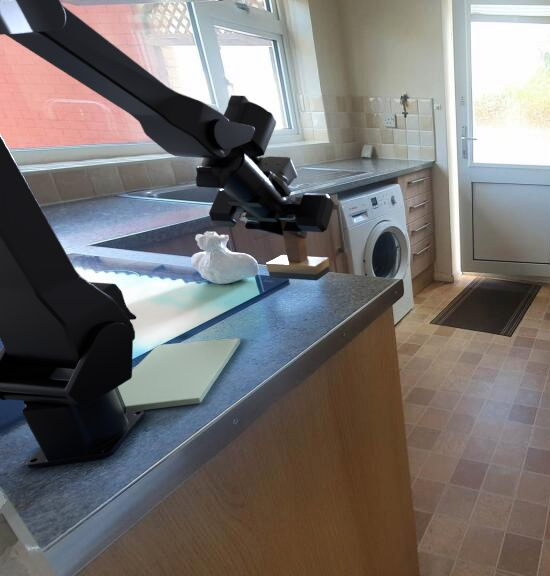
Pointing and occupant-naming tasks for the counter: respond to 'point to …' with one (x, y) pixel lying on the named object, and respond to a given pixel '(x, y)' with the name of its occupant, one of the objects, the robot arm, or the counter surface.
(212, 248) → the white curved figure
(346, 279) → the counter surface
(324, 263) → the brush
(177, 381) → the board
